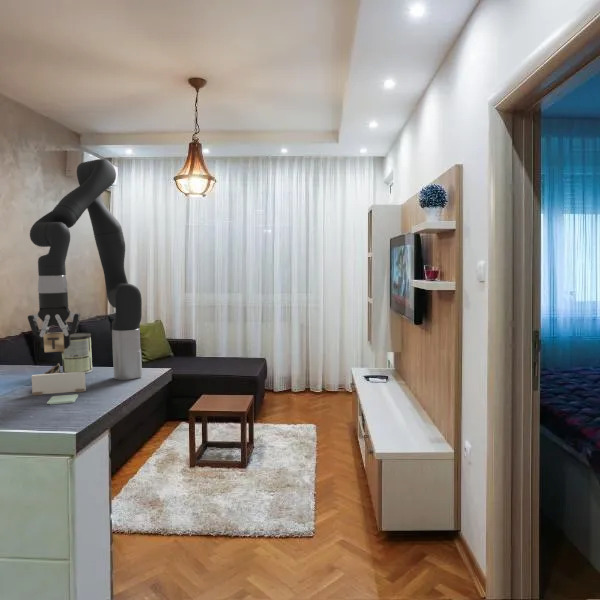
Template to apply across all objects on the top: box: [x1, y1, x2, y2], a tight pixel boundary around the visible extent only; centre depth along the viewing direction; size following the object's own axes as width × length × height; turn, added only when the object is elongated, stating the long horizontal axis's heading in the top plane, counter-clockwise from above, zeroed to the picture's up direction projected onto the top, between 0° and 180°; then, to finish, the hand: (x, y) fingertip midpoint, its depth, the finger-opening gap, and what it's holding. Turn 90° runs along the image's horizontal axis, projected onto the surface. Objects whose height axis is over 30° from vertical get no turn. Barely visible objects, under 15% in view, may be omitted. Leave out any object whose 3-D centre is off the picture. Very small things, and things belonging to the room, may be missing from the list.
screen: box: [31, 372, 87, 397], centre depth 147 cm, size 15×3×6 cm, turn 105°
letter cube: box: [43, 331, 66, 353], centre depth 138 cm, size 5×5×5 cm
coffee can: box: [61, 332, 93, 374], centre depth 175 cm, size 10×10×14 cm
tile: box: [46, 394, 79, 405], centre depth 138 cm, size 7×7×1 cm
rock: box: [43, 362, 61, 374], centre depth 153 cm, size 9×7×10 cm
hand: (56, 348), depth 138 cm, fingers closed on letter cube, 5 cm apart
